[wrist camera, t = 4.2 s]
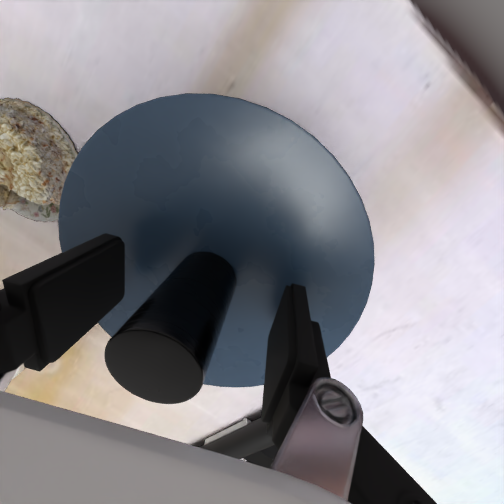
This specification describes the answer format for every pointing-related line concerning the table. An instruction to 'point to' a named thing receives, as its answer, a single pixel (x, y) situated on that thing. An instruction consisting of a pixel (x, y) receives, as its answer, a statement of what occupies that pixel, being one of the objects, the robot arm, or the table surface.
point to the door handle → (244, 443)
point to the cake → (32, 160)
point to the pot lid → (215, 238)
